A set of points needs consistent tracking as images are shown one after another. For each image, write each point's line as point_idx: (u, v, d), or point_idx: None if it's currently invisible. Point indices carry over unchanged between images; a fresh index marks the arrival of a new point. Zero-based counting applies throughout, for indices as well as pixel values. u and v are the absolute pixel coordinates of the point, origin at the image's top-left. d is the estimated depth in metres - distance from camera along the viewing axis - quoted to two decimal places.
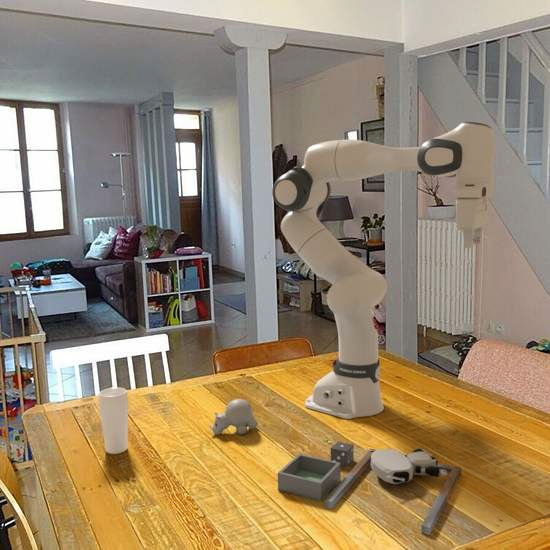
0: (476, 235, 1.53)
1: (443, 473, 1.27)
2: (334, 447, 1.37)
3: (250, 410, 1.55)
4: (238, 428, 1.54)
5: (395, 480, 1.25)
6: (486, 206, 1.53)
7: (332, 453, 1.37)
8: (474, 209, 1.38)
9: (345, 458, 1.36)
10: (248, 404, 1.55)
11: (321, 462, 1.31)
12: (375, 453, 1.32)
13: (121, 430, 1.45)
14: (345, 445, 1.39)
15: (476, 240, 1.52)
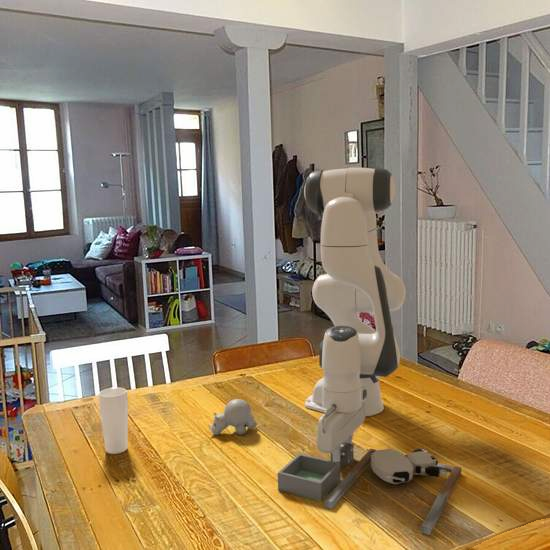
0: None
1: (443, 473, 1.27)
2: None
3: (249, 410, 1.55)
4: (237, 428, 1.54)
5: (395, 480, 1.25)
6: None
7: None
8: None
9: (345, 457, 1.36)
10: (247, 404, 1.55)
11: (321, 462, 1.31)
12: (375, 453, 1.32)
13: (121, 430, 1.45)
14: (345, 444, 1.39)
15: None
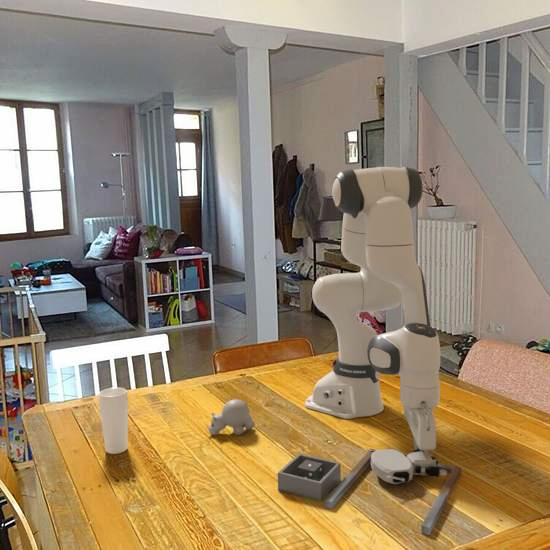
0: None
1: (443, 473, 1.27)
2: (301, 466, 1.27)
3: (247, 411, 1.55)
4: (235, 429, 1.54)
5: (395, 480, 1.25)
6: (418, 425, 1.31)
7: (298, 472, 1.27)
8: None
9: (312, 478, 1.25)
10: (245, 404, 1.55)
11: (321, 462, 1.31)
12: (375, 453, 1.32)
13: (121, 430, 1.45)
14: (313, 464, 1.28)
15: None
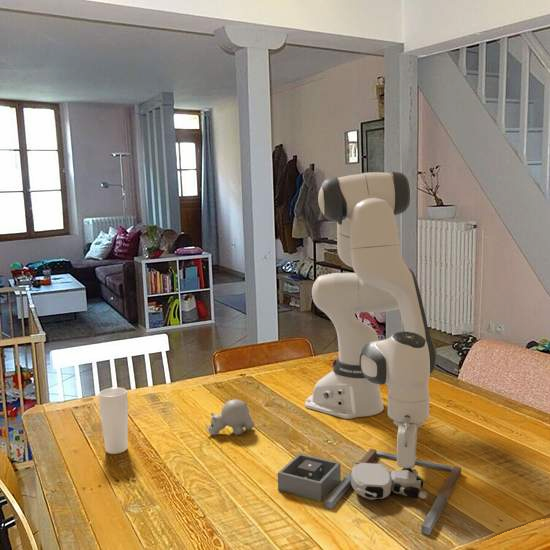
0: None
1: (422, 495, 1.19)
2: (301, 466, 1.27)
3: (246, 410, 1.55)
4: (234, 429, 1.54)
5: (367, 494, 1.19)
6: None
7: (298, 472, 1.27)
8: None
9: (312, 478, 1.25)
10: (244, 404, 1.55)
11: (321, 462, 1.31)
12: (357, 465, 1.27)
13: (121, 430, 1.45)
14: (313, 464, 1.28)
15: None
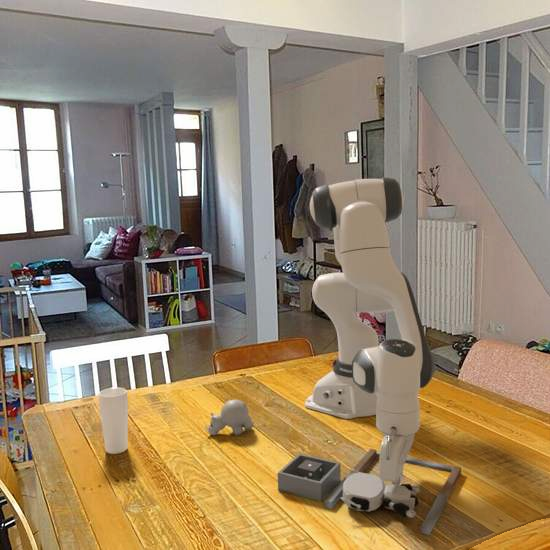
0: None
1: (409, 514, 1.13)
2: (301, 466, 1.27)
3: (246, 411, 1.54)
4: (234, 429, 1.54)
5: (351, 505, 1.16)
6: None
7: (298, 472, 1.27)
8: None
9: (312, 478, 1.25)
10: (244, 405, 1.55)
11: (321, 462, 1.31)
12: (354, 474, 1.24)
13: (121, 430, 1.45)
14: (313, 464, 1.28)
15: None
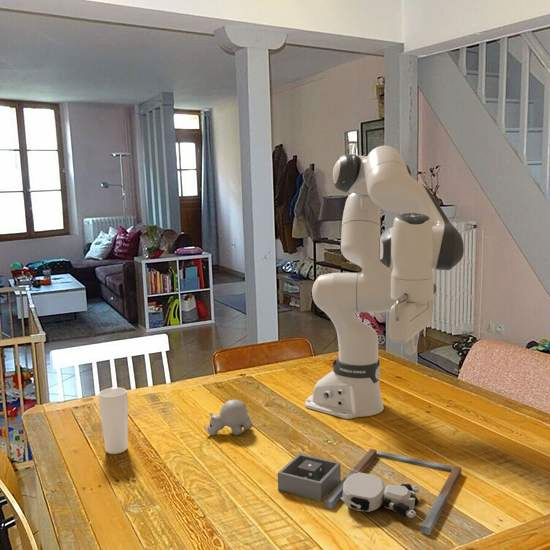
0: None
1: (409, 514, 1.13)
2: (301, 466, 1.27)
3: (245, 411, 1.54)
4: (233, 429, 1.54)
5: (351, 505, 1.16)
6: None
7: (298, 472, 1.27)
8: None
9: (312, 478, 1.25)
10: (243, 405, 1.55)
11: (321, 462, 1.31)
12: (354, 474, 1.24)
13: (121, 430, 1.45)
14: (313, 464, 1.28)
15: None
